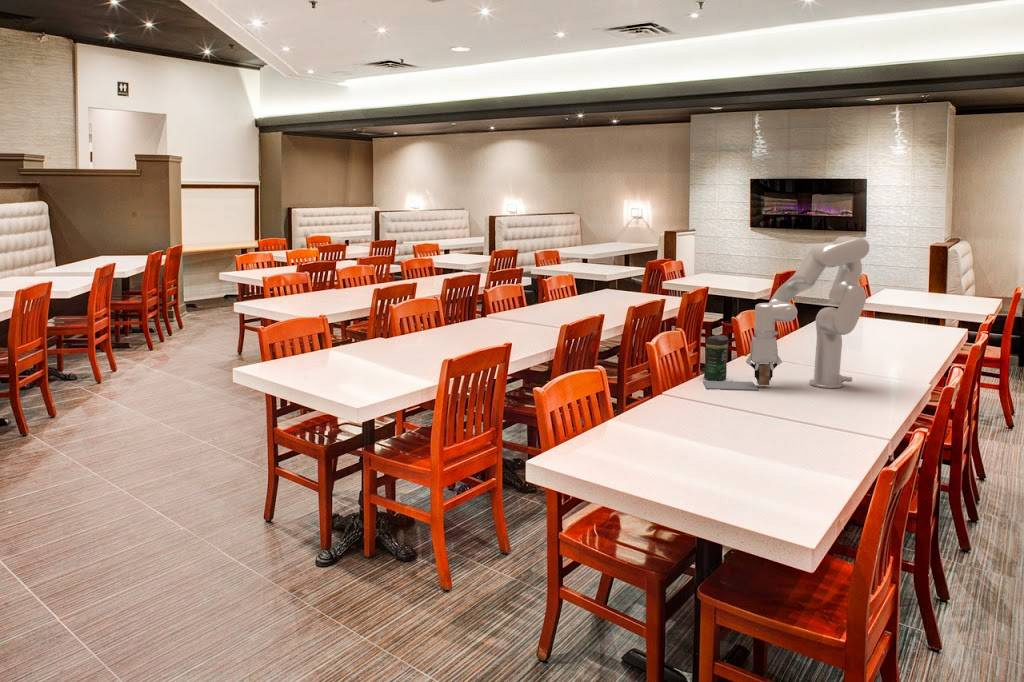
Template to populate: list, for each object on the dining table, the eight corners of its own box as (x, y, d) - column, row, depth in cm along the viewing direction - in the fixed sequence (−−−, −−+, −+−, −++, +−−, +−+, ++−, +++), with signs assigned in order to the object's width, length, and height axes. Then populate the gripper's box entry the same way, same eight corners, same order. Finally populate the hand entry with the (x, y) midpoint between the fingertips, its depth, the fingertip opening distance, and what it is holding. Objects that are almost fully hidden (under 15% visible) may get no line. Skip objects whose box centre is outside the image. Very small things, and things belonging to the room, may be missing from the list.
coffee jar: (718, 382, 311) (720, 338, 308) (701, 379, 316) (703, 335, 313) (729, 378, 318) (731, 335, 315) (712, 375, 323) (714, 332, 320)
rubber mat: (752, 383, 309) (752, 381, 309) (758, 390, 296) (758, 389, 296) (702, 381, 312) (702, 380, 311) (706, 389, 299) (706, 387, 299)
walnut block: (767, 382, 304) (767, 363, 303) (769, 385, 300) (770, 365, 299) (757, 382, 304) (757, 363, 303) (759, 385, 301) (759, 365, 299)
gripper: (784, 332, 301) (782, 377, 305) (741, 333, 303) (740, 377, 307) (788, 335, 294) (787, 381, 297) (744, 336, 296) (743, 381, 299)
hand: (763, 378), depth 302 cm, fingers closed on walnut block, 4 cm apart
